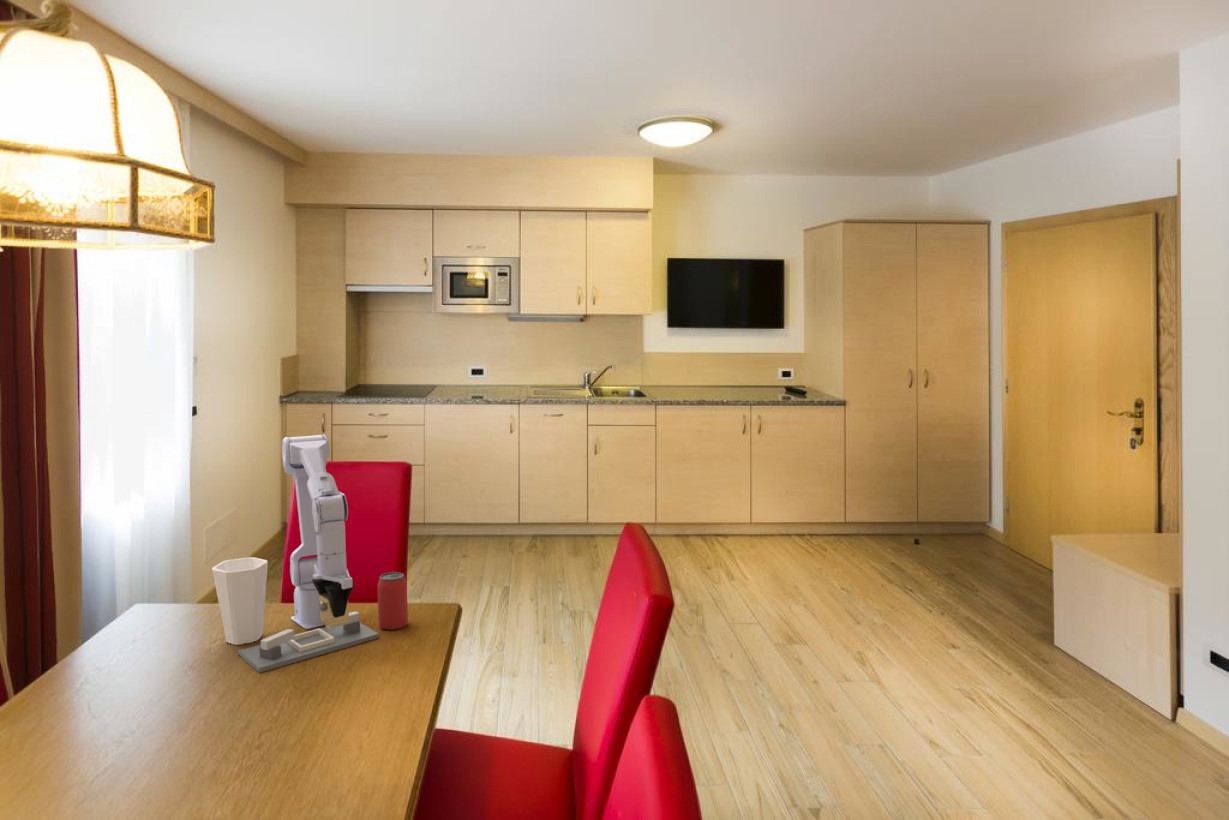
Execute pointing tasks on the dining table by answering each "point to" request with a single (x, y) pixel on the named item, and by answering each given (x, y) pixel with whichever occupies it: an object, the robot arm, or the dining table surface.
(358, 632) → the shaft board
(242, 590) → the cup
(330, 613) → the block
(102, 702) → the dining table surface
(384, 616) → the beer can
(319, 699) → the dining table surface
